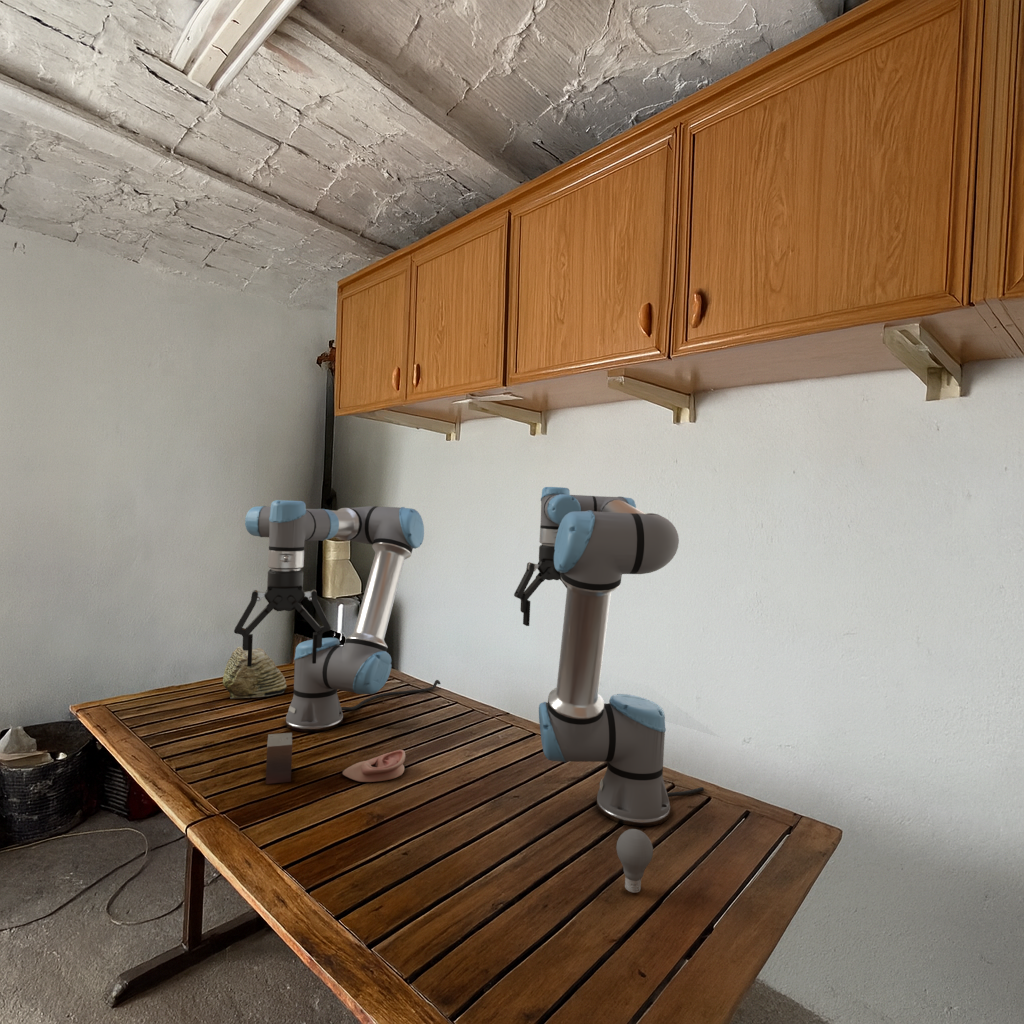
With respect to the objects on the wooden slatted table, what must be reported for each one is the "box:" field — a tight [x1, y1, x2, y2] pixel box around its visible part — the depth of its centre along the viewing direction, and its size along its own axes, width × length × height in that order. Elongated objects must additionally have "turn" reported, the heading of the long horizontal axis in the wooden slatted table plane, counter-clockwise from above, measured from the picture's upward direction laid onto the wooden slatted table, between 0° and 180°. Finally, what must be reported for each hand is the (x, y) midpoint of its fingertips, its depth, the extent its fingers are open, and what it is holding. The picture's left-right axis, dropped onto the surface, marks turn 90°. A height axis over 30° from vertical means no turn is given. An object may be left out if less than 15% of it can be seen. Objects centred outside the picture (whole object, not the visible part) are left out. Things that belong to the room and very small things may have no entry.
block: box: [265, 732, 293, 785], centre depth 143 cm, size 5×7×8 cm
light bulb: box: [615, 828, 654, 894], centre depth 106 cm, size 6×6×10 cm
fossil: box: [222, 646, 288, 699], centre depth 198 cm, size 9×18×15 cm, turn 132°
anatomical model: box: [342, 749, 406, 783], centre depth 146 cm, size 13×4×12 cm
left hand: (282, 663), depth 142 cm, fingers open, 13 cm apart
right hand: (549, 624), depth 169 cm, fingers open, 13 cm apart
